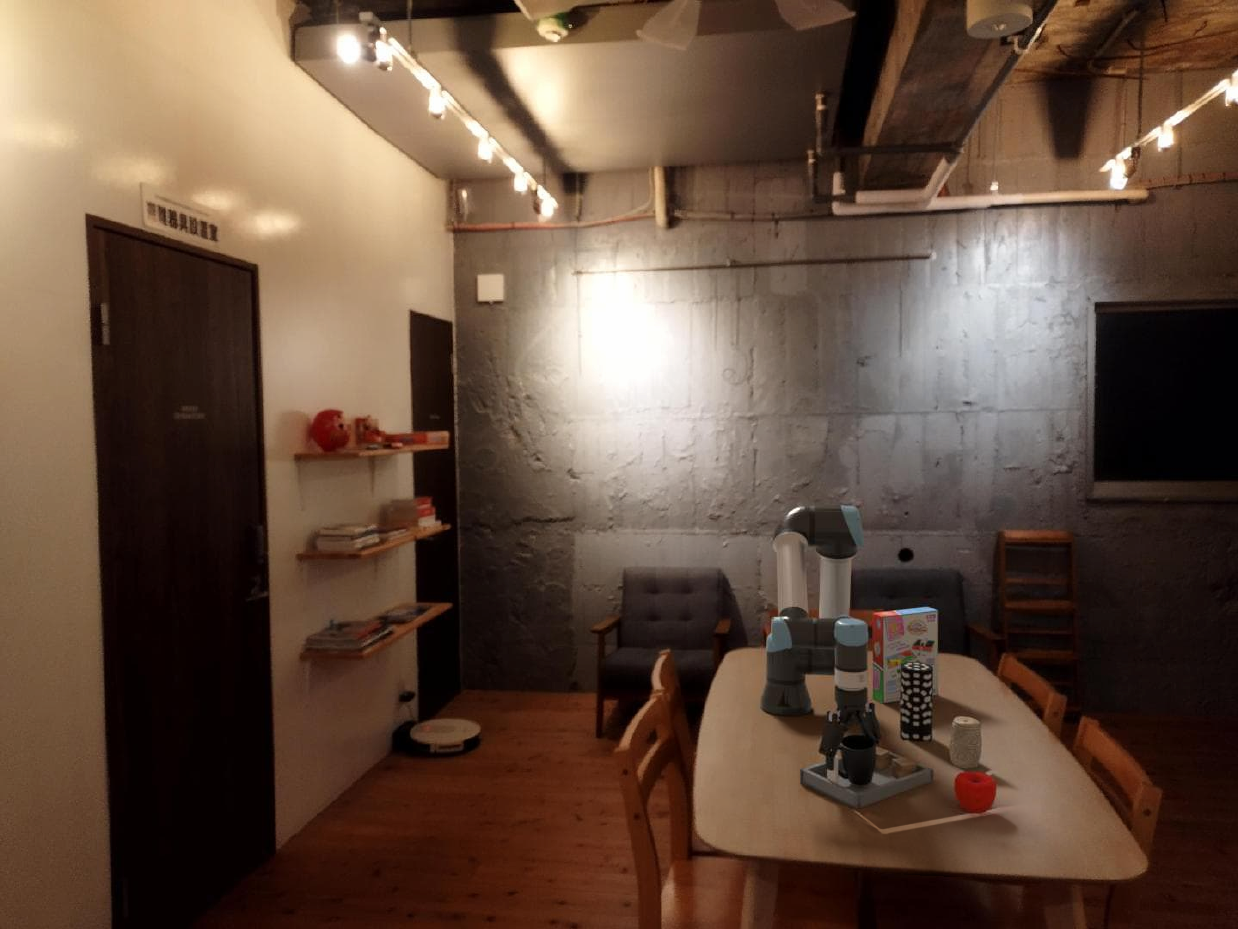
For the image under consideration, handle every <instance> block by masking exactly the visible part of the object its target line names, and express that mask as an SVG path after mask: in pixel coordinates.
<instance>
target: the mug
mask: <svg viewBox="0 0 1238 929" xmlns="http://www.w3.org/2000/svg"><path fill="white" fill-rule="evenodd" d="M876 746H877V745H876V742H875V740H874V739H873V738H871V737H869V736H867V735H863V734H862V733H861V734H860V733H853V734H847V735H844V737H843V739H842V742H841V744H840V746H839V748H838V751H840V756H841V759H842V763H843V767H844V770H845V772H841V771H840V770H839V769H838V774H839V776H840V777H842V778H843V779H848V781H849V782H850V783H852V784H855V785H867V784H869V783H871V781H872V777H873V773H874V770H875V765H876ZM824 756H825V755H824ZM825 758H826V756H825Z"/></svg>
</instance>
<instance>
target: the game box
mask: <svg viewBox="0 0 1238 929" xmlns="http://www.w3.org/2000/svg"><path fill="white" fill-rule="evenodd" d="M938 638H939V610H938V609H936V608H932V607H929V606H923V607H915V608H906V609H896V610H888V611H878V612H873V613H872V699H873V700H875V701H876V702H879V703H881V704H888V703H894V702H900V665H901V664H902V663H905V662H921V663H926V664H929V665H931V666H932V667H933V697H934V696H939V674H938V673H939V660H938V659H939V658H938V656H939V654H938V653H939V648H938V647H939V645H938V644H939V643H938V642H939V641H938V640H939V639H938Z"/></svg>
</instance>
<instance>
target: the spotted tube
mask: <svg viewBox="0 0 1238 929" xmlns="http://www.w3.org/2000/svg"><path fill="white" fill-rule="evenodd" d="M933 698H934V696H933V667H932V666H931V665H929V664H926V663H921V662H905V663H902V664H901V665H900V701H899V738H900V740H902V741H903V742H904V741H910V742H911V741H912V742H917V743H918V742H923V743H924V742H928V743H931V742H933Z"/></svg>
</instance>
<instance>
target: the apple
mask: <svg viewBox="0 0 1238 929" xmlns="http://www.w3.org/2000/svg"><path fill="white" fill-rule="evenodd" d="M953 790H954V794H955V797H956V799H957V801H958V803H959V805H960V807H961V808H962V810H965V811H966V812H970V813H972V814H983V813H986V812H987V811H989V810H990V808H991V807H992V806H993V804H994V801H995V799H996V797H997V784H996V781H995V779H994V778H993V777H991V776H990V775H987V774H984V773H982V772H976V771H975V772H974V771H963V772H959V773H958V774H957V775H956V776H955V778H954V784H953Z"/></svg>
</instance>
